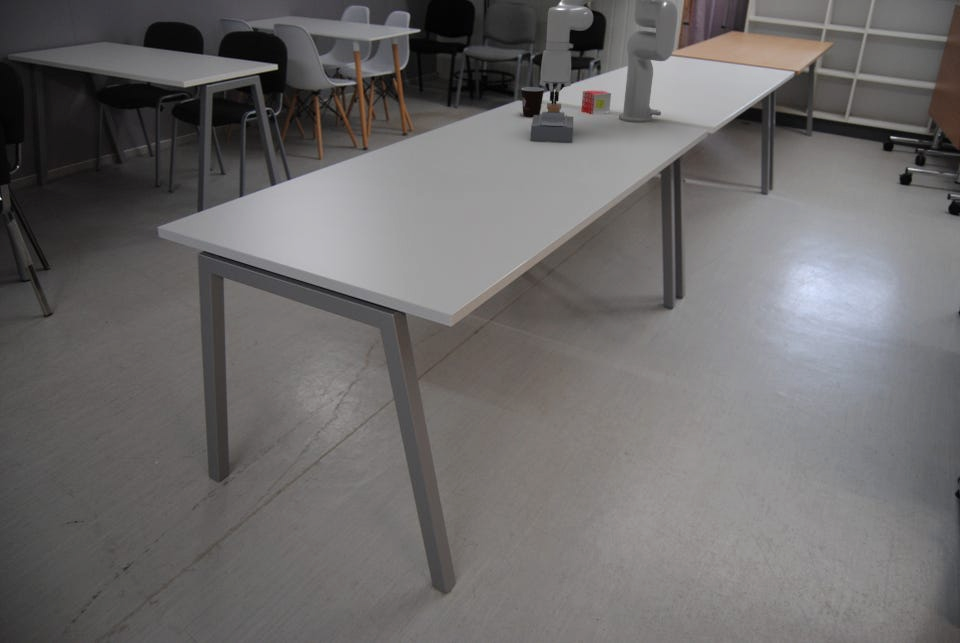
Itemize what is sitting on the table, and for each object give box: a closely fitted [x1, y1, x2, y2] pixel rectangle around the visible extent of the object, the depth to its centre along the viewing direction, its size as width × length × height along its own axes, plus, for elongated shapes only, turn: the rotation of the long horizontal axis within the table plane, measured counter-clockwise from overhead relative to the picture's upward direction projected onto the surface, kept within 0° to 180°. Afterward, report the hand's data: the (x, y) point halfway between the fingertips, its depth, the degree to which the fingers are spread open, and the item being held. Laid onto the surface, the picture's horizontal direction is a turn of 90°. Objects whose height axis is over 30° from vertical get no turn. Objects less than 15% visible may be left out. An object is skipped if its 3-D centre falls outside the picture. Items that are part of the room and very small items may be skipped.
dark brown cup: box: [520, 86, 545, 118], centre depth 286 cm, size 12×9×10 cm
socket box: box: [530, 113, 574, 143], centre depth 256 cm, size 14×18×6 cm
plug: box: [546, 102, 562, 112], centre depth 258 cm, size 5×5×10 cm
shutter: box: [541, 111, 566, 126], centre depth 250 cm, size 8×8×3 cm
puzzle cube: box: [581, 89, 612, 116], centre depth 293 cm, size 8×8×8 cm
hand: (553, 103), depth 255 cm, fingers closed
